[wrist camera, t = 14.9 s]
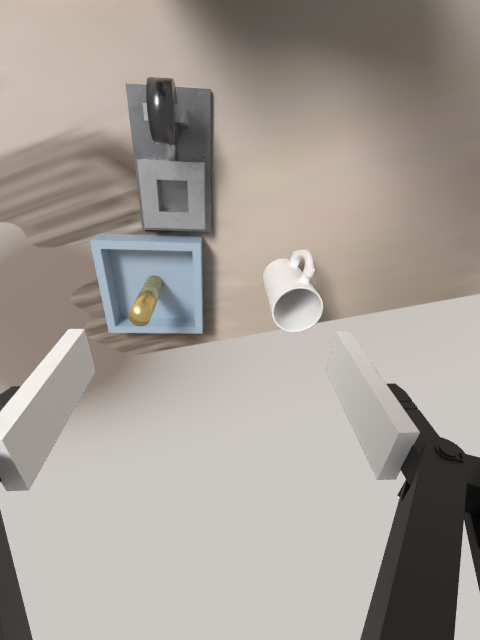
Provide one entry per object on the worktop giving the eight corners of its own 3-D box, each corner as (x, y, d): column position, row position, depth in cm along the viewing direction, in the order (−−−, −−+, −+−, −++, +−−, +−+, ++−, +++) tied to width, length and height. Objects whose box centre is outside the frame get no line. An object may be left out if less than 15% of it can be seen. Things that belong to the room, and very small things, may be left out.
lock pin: (145, 275, 47) (126, 307, 38) (163, 275, 47) (149, 307, 38) (147, 291, 49) (129, 326, 39) (164, 291, 49) (151, 326, 39)
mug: (292, 299, 52) (310, 337, 41) (255, 289, 50) (265, 326, 40) (316, 243, 47) (343, 271, 37) (276, 231, 46) (293, 256, 35)
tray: (98, 233, 44) (89, 240, 41) (201, 236, 45) (200, 243, 42) (115, 321, 52) (109, 332, 49) (203, 322, 53) (202, 333, 50)
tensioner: (126, 84, 36) (102, 68, 28) (210, 90, 36) (208, 75, 29) (143, 228, 44) (128, 244, 37) (211, 230, 45) (209, 247, 38)
